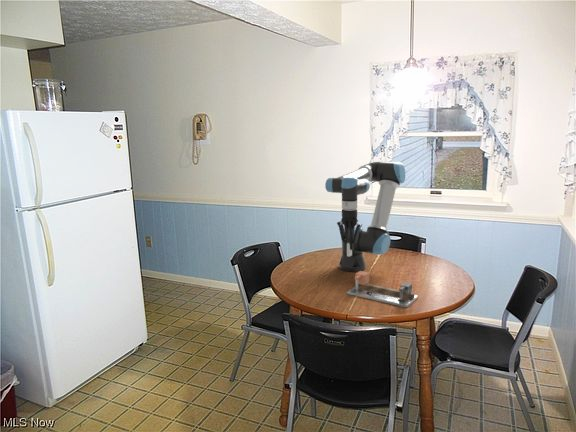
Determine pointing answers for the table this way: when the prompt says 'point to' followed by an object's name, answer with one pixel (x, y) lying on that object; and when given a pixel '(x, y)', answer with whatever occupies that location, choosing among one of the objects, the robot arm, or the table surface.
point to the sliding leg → (361, 278)
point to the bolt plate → (381, 296)
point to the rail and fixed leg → (392, 290)
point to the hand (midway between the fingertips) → (349, 255)
